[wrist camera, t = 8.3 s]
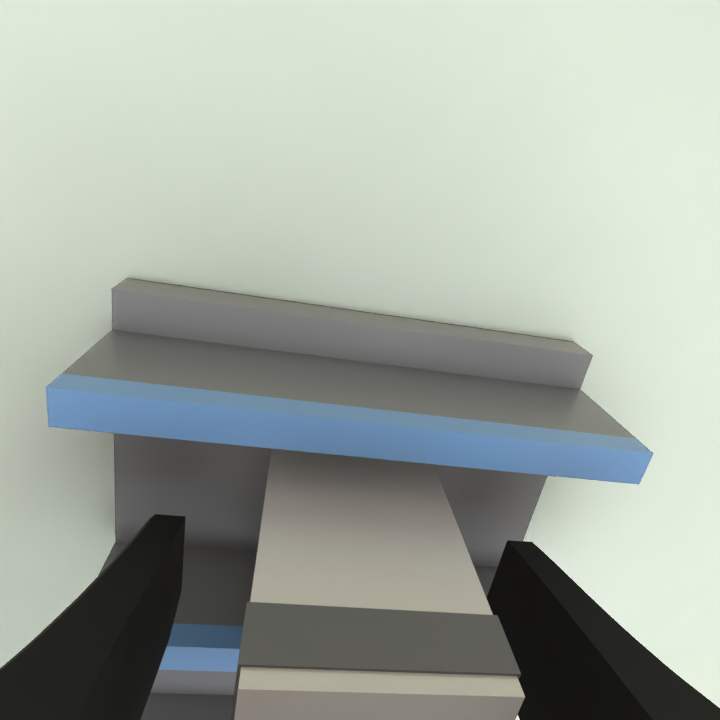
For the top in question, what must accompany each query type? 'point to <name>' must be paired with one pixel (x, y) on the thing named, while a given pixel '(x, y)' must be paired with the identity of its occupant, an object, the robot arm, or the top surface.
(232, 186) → the top surface
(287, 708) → the beige block
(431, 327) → the grey slotted rack
